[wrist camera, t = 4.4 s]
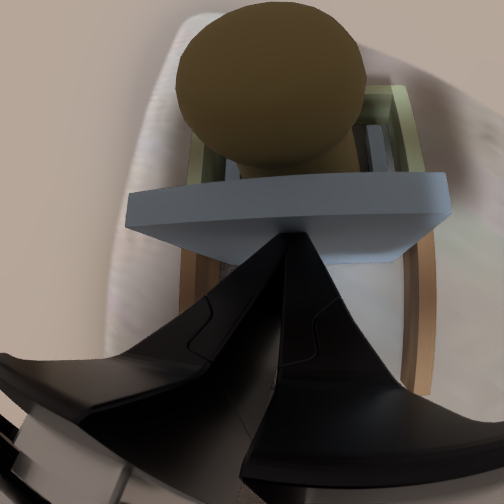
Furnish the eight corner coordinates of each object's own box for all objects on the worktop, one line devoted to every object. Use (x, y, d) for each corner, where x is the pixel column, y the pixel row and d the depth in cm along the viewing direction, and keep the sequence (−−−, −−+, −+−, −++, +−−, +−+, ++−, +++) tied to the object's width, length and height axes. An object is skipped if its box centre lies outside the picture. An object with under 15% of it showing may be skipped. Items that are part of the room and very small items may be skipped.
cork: (284, 266, 16) (179, 198, 6) (237, 173, 18) (124, 46, 7) (384, 211, 15) (442, 67, 4) (327, 125, 17) (296, -39, 6)
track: (414, 378, 13) (430, 395, 10) (204, 372, 16) (178, 384, 13) (398, 116, 15) (405, 85, 13) (215, 129, 19) (195, 104, 16)
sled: (391, 262, 14) (452, 213, 6) (231, 265, 17) (124, 227, 8) (378, 138, 15) (393, 15, 7) (236, 147, 18) (160, 48, 9)
